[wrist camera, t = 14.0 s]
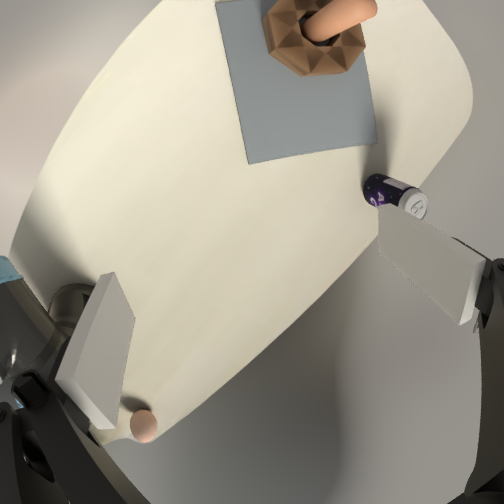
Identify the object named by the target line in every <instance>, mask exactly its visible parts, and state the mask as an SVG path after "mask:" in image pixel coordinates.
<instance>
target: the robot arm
mask: <svg viewBox="0 0 504 504" xmlns="http://www.w3.org/2000/svg"><path fill="white" fill-rule="evenodd" d="M378 220H379V255H380V256H381V257H383V258H384V259H385V260H386V261H387V262H388V263H390V264H391V265H392V266H393V267H394V268H396V269H397V270H398V271H399V272H400V273H401V274H403V275H404V276H405V277H406V278H407V279H408V280H410V281H411V282H412V283H413V284H414V285H415V286H416V287H418V288H419V289H420V290H421V291H422V292H423V293H424V294H425V295H426V296H428V297H429V298H430V299H431V300H432V301H433V302H434V303H435V304H437V306H439V307H440V308H441V309H442V310H443V311H444V312H445V313H446V314H447V315H448V316H449V317H450V318H451V319H452V320H454V322H456V323H457V324H458V325H461V324H463V323H465V322H466V321H468V320H470V319H471V317H472V314H473V310H474V307H476V308H477V309H478V310H480V311H479V314H478V318H477V321H476V324H475V327H474V330H473V333H475V332H476V329H477V328H478V327H479V336H480V348H481V349H480V350H481V372H482V396H481V419H480V432H479V442H478V451H477V458H476V464H475V467H474V470H473V472H472V473H471V475H470V477H469V479H468V482H467V484H466V487H465V491H464V493H462V494H461V495H460V496H458V497H456V498H455V499H453V500H452V501H451V502H449V503H448V504H504V259H503V258H501V259H500V258H499V259H496V260H494V261H491V260H490V259H488V258H487V257H485V256H484V255H482V254H481V253H479V252H478V251H476V250H474V249H472V248H471V247H470V246H468V245H465V243H463V242H461V241H460V240H458V239H456V238H453V237H450V236H448V235H447V234H445V233H443V232H442V231H440V230H438V229H437V228H435V227H433V226H431V225H430V224H428V223H426V222H424V221H422V220H421V219H419V218H417V217H415V216H413V215H411V214H410V213H408V212H406V211H404V210H402V209H400V208H398V207H396V206H395V205H393V204H391V203H389V204H384V205H380V206H378ZM135 319H136V318H135V316H134V314H133V312H132V310H131V308H130V305H129V303H128V301H127V299H126V297H125V295H124V293H123V290H122V288H121V286H120V284H119V281H118V279H117V277H116V274H115V272H112V273H108V274H104V275H101V276H100V278H99V280H98V282H97V284H96V286H95V288H94V287H92V286H89V285H85V284H70V285H67V286H64V287H63V288H61V289H60V290H59V291H58V292H57V293H56V294H55V296H54V297H53V299H52V301H51V303H50V305H49V309H48V312H47V311H46V310H45V309H44V307H43V306H42V305H41V303H40V302H39V301H38V299H37V298H36V296H35V295H34V294H33V292H32V291H31V289H30V288H29V287H28V285H27V284H26V282H25V281H24V277H23V276H22V275H20V274H19V273H18V271H17V270H16V269H15V267H14V266H13V264H12V263H11V262H10V260H9V259H8V258H7V257H5V256H0V384H1V383H2V382H3V380H4V379H5V377H6V376H7V377H8V378H9V379H10V380H11V381H12V382H13V384H12V387H11V394H12V395H13V396H14V397H15V399H16V402H17V403H18V405H19V407H20V409H17V410H14V409H13V408H12V407H11V406H10V404H9V403H7V402H1V403H0V504H69V502H70V504H151V503H150V502H149V501H148V500H147V499H146V498H145V497H144V496H143V495H142V494H141V493H140V492H139V491H138V490H137V488H136V487H135V486H134V485H133V484H132V483H131V481H130V480H129V479H128V478H127V477H126V476H125V474H124V473H123V472H122V471H121V470H120V468H119V467H118V466H117V465H116V464H115V462H114V461H113V460H112V459H111V457H110V456H109V455H108V453H107V452H106V451H105V449H104V448H103V447H102V445H101V444H100V442H99V441H98V440H97V438H96V437H95V435H94V434H93V433H92V432H91V431H90V430H89V423H90V421H91V422H92V423H93V424H94V425H95V426H96V427H97V428H98V429H116V427H117V419H118V412H119V404H120V398H121V391H122V385H123V379H124V373H125V368H126V362H127V357H128V352H129V347H130V342H131V337H132V332H133V328H134V323H135ZM24 457H25V459H26V461H25V459H24Z"/></svg>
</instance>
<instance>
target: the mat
mask: <svg viewBox="0 0 504 504" xmlns="http://www.w3.org/2000/svg"><path fill="white" fill-rule="evenodd" d="M277 2H278V0H240V1H231V2H223V3H216V4H215V6H216V11H217V15H218V20H219V24H220V29H221V33H222V38H223V43H224V47H225V52H226V57H227V61H228V66H229V71H230V76H231V80H232V85H233V90H234V95H235V100H236V104H237V109H238V114H239V119H240V124H241V129H242V134H243V139H244V144H245V149H246V154H247V159H248V164H249V165H250V164H255V163H260V162H265V161H269V160H274V159H280V158H285V157H290V156H296V155H301V154H307V153H313V152H319V151H325V150H332V149H338V148H345V147H352V146H360V145H367V144H376V143H377V135H376V126H375V118H374V110H373V103H372V96H371V90H370V83H369V78H368V72H367V67H366V62H365V57H364V52H363V51H362V52H361V54H360V55H359V57H358V58H357V59H356V61H355V62H354V63H353V65H352V66H351V67H350V69H349V70H348V71H347V72H344V73H340V74H336V75H319V76H305V77H300V76H299V75H297V74H296V73H295V72H293V71H292V70H291V69H289V68H288V67H286V66H285V65H284V64H282V63H281V62H279V61H278V60H276V59H275V58H273V57H272V56H271V55H269V53H268V48H267V43H266V39H265V35H264V30H263V26H262V22H261V21H262V19H263V18H264V16H265V15H266V14H267V12H268V11H269V10H270V9H271V8H272V7H273V6H274V5H275V4H276V3H277ZM308 19H309V18H300V19H299V20H298V22H299V26H300V25H301V24H303V23H304V22H305V21H306V20H308ZM328 42H329V39H326V40H324V41H323V42H321V43H319V44H317V45H315V46H316V47H323V46H326V45H327V43H328Z"/></svg>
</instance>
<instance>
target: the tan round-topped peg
mask: <svg viewBox="0 0 504 504" xmlns="http://www.w3.org/2000/svg"><path fill="white" fill-rule="evenodd" d="M376 13H377V4H376V2H375V0H333V1H332V2H330V3H329V4H328V5H326V6H325V7H323V8H322V9H321V10H319V11H318V12H317V13H315V14H314V15H313V16H312V17H310V18H309V19H308V20H306V21H305V22H304V23H303V24H301V25H300V30H301V35H302V37H304V38H305V39H307V40H308V41H309V42H311V43H312V44H313V45H317V44H319V43H321V42H323V41H324V40H326V39H328V38H330V37H332V36H334V35H336V34H338V33H340V32H342V31H344V30H346V29H348V28H350V27H352V26H354V25H357V24H359V23H361V22H363V21H365V20H367V19H370V18H372V17H374V16H375V15H376Z"/></svg>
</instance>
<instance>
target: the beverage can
mask: <svg viewBox="0 0 504 504" xmlns="http://www.w3.org/2000/svg"><path fill="white" fill-rule="evenodd" d="M363 194H364V198H365V200H366V201H367V202H368V203H369V204H371V205H373V206H374V207H376V208H378V206H380V205H384V204H389V203H391V204H393V205H395V206H396V207H398V208H400V209H402V210H404V211H406V212H408V213H410V214H411V215H413V216H415V217H417V218H419V219H421V220H423V219H424V218H425V216H426V214H427V211H428V200H427V198H426V196H425V195H424V194H423V193H422V192H421V190H419V189H418V188H416V187H413V186H411V185H408V184H406V183H403V182H401V181H398V180H395V179H393V178H390V177H388V176H385V175H382V174H374V175H372V176H370V177H369V178H368V179H367V181H366V182H365V185H364V189H363Z"/></svg>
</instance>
